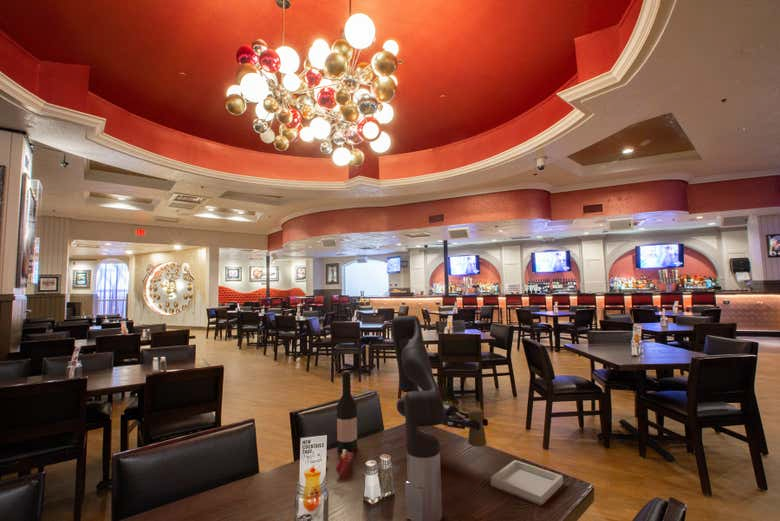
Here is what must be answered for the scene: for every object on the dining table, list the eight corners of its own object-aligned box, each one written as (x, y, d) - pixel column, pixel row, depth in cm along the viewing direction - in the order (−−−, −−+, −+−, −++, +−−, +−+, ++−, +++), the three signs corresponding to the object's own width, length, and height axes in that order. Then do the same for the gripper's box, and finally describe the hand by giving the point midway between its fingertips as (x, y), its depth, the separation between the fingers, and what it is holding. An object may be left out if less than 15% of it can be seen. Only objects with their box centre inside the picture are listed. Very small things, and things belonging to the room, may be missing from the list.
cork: (487, 447, 121) (485, 412, 122) (468, 445, 122) (466, 411, 123) (485, 439, 127) (484, 406, 127) (467, 438, 128) (466, 405, 129)
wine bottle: (333, 452, 142) (332, 373, 145) (342, 443, 150) (341, 368, 153) (353, 454, 140) (351, 373, 142) (361, 445, 148) (359, 369, 150)
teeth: (352, 454, 123) (306, 456, 122) (352, 479, 122) (307, 481, 122) (354, 442, 133) (312, 444, 133) (355, 465, 132) (313, 467, 132)
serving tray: (541, 505, 104) (540, 496, 105) (490, 485, 116) (490, 477, 116) (563, 484, 116) (562, 475, 116) (515, 467, 127) (514, 459, 127)
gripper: (429, 407, 130) (471, 418, 118) (453, 398, 140) (494, 408, 128) (430, 429, 130) (472, 442, 117) (454, 418, 140) (495, 430, 127)
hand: (483, 424), depth 123 cm, fingers closed on cork, 4 cm apart
